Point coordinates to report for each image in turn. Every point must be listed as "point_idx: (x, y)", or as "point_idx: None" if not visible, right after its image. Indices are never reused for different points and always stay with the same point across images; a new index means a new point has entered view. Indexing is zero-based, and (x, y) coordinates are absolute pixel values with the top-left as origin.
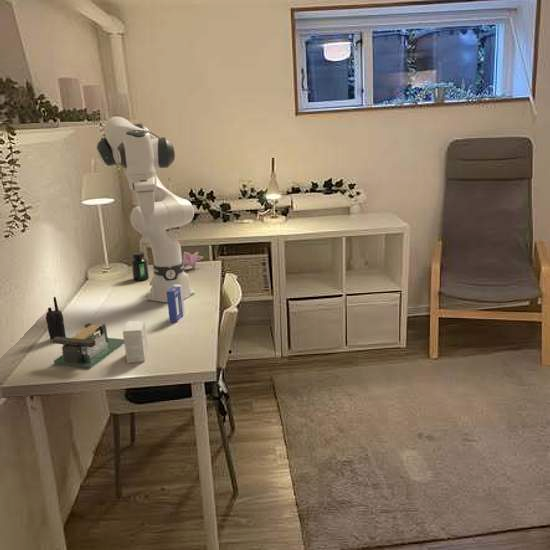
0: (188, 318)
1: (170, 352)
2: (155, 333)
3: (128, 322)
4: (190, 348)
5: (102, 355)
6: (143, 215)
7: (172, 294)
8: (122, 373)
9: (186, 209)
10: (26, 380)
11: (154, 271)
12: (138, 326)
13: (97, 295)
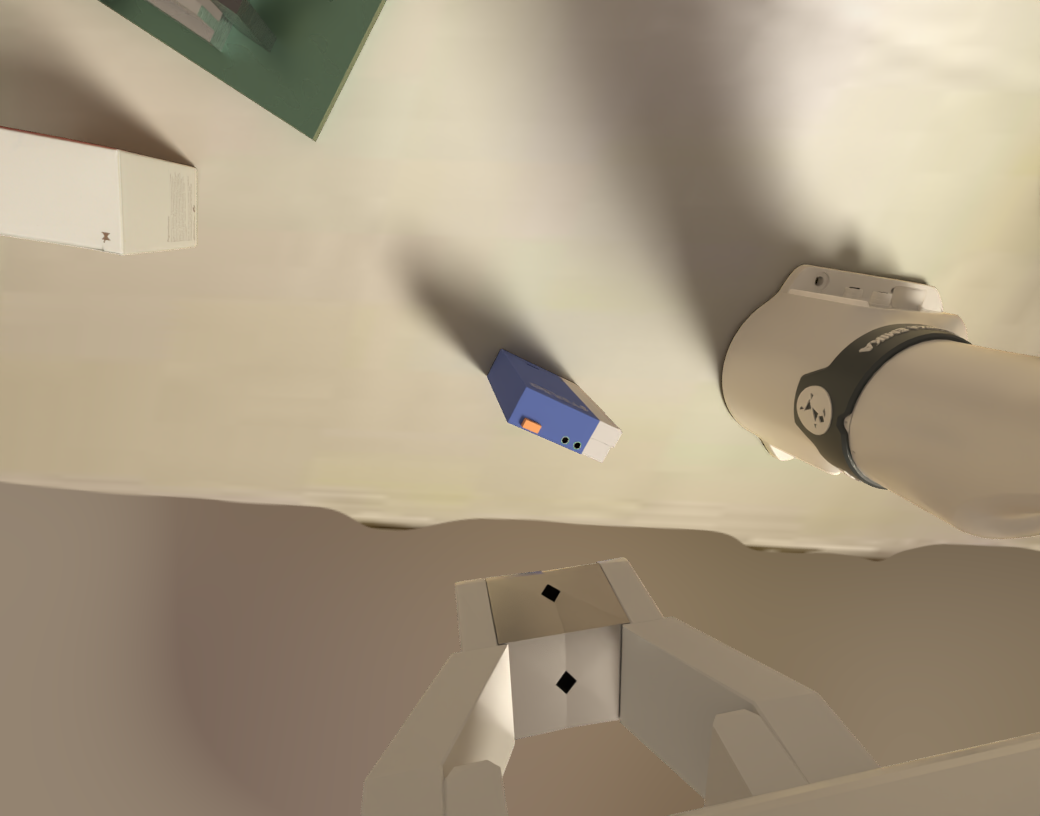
0: None
1: (162, 339)
2: (391, 284)
3: (101, 157)
4: (190, 417)
5: (124, 16)
6: (690, 669)
7: (507, 410)
8: None
9: None
10: None
11: (888, 331)
12: (23, 216)
13: (998, 7)
